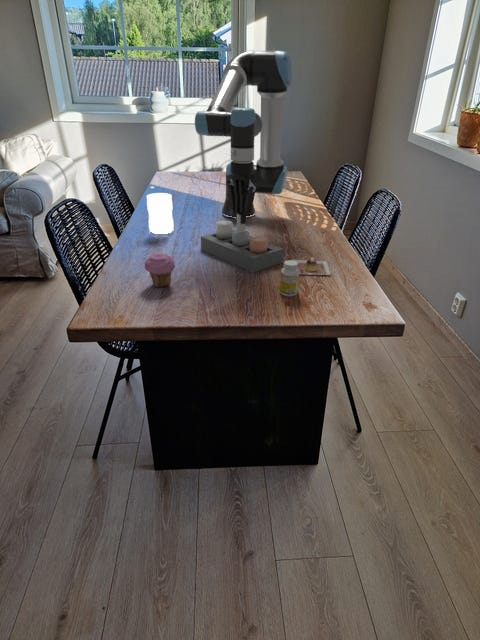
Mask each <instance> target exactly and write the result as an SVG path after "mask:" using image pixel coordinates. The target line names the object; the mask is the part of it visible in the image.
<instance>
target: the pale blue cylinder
mask: <svg viewBox="0 0 480 640" xmlns="http://www.w3.org/2000/svg"><path fill="white" fill-rule="evenodd" d="M249 236H250V232H249V231H248V230H245V232H243V233H237V229H236V230H234V231H233V232H232V244H233V245H235V246H238V247H243V246H246V245H249Z"/></svg>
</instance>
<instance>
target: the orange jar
mask: <svg viewBox="0 0 480 640" xmlns="http://www.w3.org/2000/svg"><path fill="white" fill-rule="evenodd" d="M251 237H252V238H250V245H249V251H250V252H252V253H255V254H257V255H258V254H262V253H265V252H267V243H268V238H267V237H264V236H251Z"/></svg>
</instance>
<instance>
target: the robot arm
mask: <svg viewBox="0 0 480 640" xmlns="http://www.w3.org/2000/svg"><path fill="white" fill-rule="evenodd" d="M292 75H293V74H292V63H291V57H290V55H289V52H287V51H284V50H283V51H282V50H247V51H242V52H241V53H239V54H237V55H236V56H234V57H233V58H232V59H230V61H228V62H227V64H226V65H225V67H224V68H223V70H222V74H221V81H220V83H219V85H218V87H217V90H216V91H215V94H213V97H212V99H211V101H210V103H209V106H208V107H207V109H206V110H200V111H197V112H196V113H195V116H194V128H195V132H196V133H197V135H200V136H205V137H206V136H207V137H226V138H227V137H230V160H231V161H230V163H227V165H226V166H225V200H224V203H223V207H222V209H221V214H222V213H223V214H225V215H228V216H232V217H236V219H235V222H236V230H237V233H243V232H245V231H246V224H247V218H246V216H250V215H253V214H254V213H255V214H256V209H255V206H254V200H255V195H256V194H265V195H280V194H282V193H283V190H284V187H285V184H286V180H287V174H288V167H287V166H284V165H285V164H284V160H282V158H281V150H282V149H281V148H282V147H281V146H282V128H283V127H282V123H283V103H284V101H283V98H284V95H285V94H287V92H288V88H289V87H291V85H292V79H293V77H292ZM246 86H254V87H257V88H256V92H257V93H258V94H259V96H260V114H259V113H257V112H256V111H255V109H254V108H252V107H251V108H250V107H234V106H235V102H236V101H237V98H238V97H239V93H240V92H241V90H243V89H244V88H245V87H246ZM233 107H234V108H233ZM259 134H260V135H259ZM258 135H259V136H260V139H259V140H260V145H259V149H260V150H259V151H260V152H259V158H258V159H257V160H256V164H254V160H255V137H257V136H258Z"/></svg>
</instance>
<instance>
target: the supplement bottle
mask: <svg viewBox="0 0 480 640" xmlns="http://www.w3.org/2000/svg"><path fill="white" fill-rule="evenodd" d="M292 260H293V259H291V260H285V261H284V262H283V268H282V269H281V272H280V280H279V284H280V285H279V293H280V294H281V295H282V296H285V297H295V296H296V295H297V294H298V291H299V290H298V289H299V281H300V280H299V279H300V274H299V273H300V270H299V269H298V265H299V263H297V262H296V261H292Z"/></svg>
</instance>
